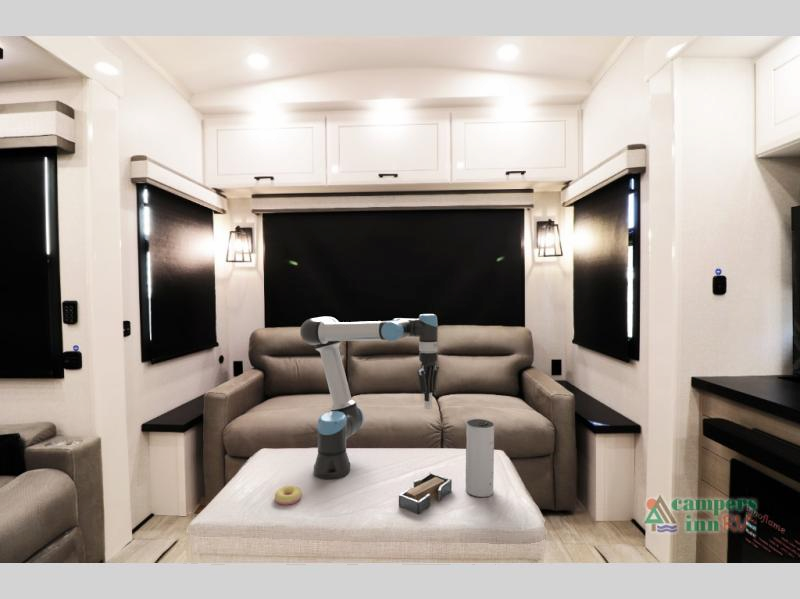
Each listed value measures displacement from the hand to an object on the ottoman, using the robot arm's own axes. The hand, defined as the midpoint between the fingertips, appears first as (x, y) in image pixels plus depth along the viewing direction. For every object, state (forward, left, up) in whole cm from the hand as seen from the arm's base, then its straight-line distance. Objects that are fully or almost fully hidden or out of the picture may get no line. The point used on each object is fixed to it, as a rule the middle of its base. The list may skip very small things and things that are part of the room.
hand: (428, 408), depth 169 cm
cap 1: (+11, -26, -26) cm, 38 cm away
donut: (-28, -49, -27) cm, 63 cm away
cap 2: (+11, -13, -26) cm, 31 cm away
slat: (+11, -19, -27) cm, 35 cm away
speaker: (+24, -2, -27) cm, 36 cm away
